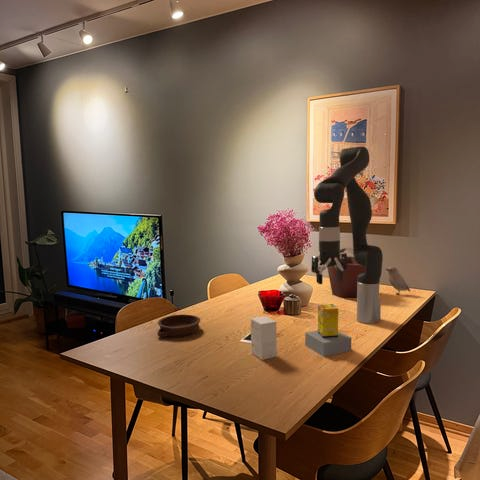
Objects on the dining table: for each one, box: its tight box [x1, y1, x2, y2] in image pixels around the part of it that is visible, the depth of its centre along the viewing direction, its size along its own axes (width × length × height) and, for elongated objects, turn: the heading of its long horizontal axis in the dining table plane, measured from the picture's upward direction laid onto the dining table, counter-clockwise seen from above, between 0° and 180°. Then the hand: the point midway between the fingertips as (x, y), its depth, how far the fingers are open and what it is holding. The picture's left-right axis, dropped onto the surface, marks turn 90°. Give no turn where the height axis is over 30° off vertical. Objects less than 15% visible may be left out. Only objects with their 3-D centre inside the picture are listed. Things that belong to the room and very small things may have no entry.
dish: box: [157, 314, 201, 338], centre depth 190 cm, size 18×22×5 cm
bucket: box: [326, 247, 366, 300], centre depth 241 cm, size 24×22×25 cm
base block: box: [304, 329, 352, 357], centre depth 169 cm, size 12×12×5 cm
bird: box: [384, 266, 411, 296], centre depth 240 cm, size 5×14×15 cm, turn 82°
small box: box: [250, 315, 278, 361], centre depth 163 cm, size 8×6×13 cm
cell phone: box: [239, 332, 251, 344], centre depth 183 cm, size 8×16×1 cm, turn 155°
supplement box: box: [317, 303, 339, 338], centre depth 168 cm, size 6×6×11 cm
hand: (329, 282), depth 168 cm, fingers open, 8 cm apart
